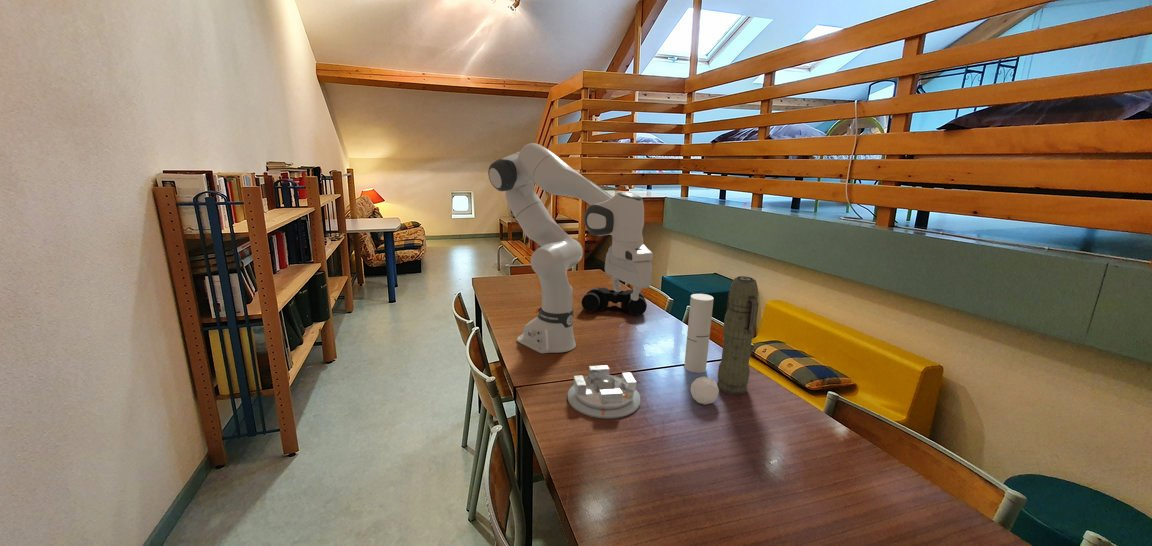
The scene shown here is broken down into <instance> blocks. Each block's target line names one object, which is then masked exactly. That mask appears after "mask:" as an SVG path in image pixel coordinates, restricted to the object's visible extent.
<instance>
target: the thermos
mask: <svg viewBox="0 0 1152 546" xmlns="http://www.w3.org/2000/svg"><path fill="white" fill-rule="evenodd" d="M732 280H733V281H732V282H731V285H730V288H729V291H728V292H727V301H726V313H725V315H724V320H723V331H722V333H723V345H722V353H721V360H720V362H719V365H718V369H717V370H718V371H717V382H716V383H717V386H718V389H719V391H720V390H721V391H722V392H724V393H727V394H730V393H731V395H742V394H746V392H747V388H748V384H749V380H750V372H751V371H750V367H749V363H750V356H751V351H752V349H751V348H752V341H753V339H754V337H755V332H756V324H757V318H758V310H759V302H758V293H759V292H758V291H759V288H758V284H757V280H756V279H754V278H753V277H750V276H746V275H745V276H744V275H742V276H737V277H734V279H732Z"/></svg>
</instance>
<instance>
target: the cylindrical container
mask: <svg viewBox="0 0 1152 546" xmlns="http://www.w3.org/2000/svg"><path fill="white" fill-rule="evenodd" d="M689 302H690V303H689V310H688V311H689V313H688V323H687V332H686V334H687V335H686V342H685V343H686V346H685V355H684V367H683V368H684V369H685V370H687V371H689V372H691V373H697V374H698V373H699V374H701V373H704V372H705V371H706V370H707V363H708V353H709V347H710V346H709V345H710V344H709V343H710V336H711V326H712V318H713V310H714V309H713V308H714V307H713V306H714V297H713V296H712V295H710V294H705V293H693V294H691V295H690V301H689Z"/></svg>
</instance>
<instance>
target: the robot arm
mask: <svg viewBox="0 0 1152 546" xmlns="http://www.w3.org/2000/svg"><path fill="white" fill-rule="evenodd" d="M487 173H488V174H487V175H488V179H489V181H490V183H491V185H492V186H493V188H494V189H495V190H497V191H499V192H505V194H504V195H505V196H504V197H505V199H506V200H505V201H506V202H507V205H508V206H509V209H510V212H511V213H512V215H513V217H514V218H515V220H516V221H517V223H518V225H519V226H520V228H521V229H522V231H523V233H524V235H525V236H526V237H527V238H529V239H530V240H532V241H533V242H535V243H536V244H537V245H539V247H538V248H537V249H535V250H534V252H532V254H531V257H530V267H531V269H532V270H533V271H534V273H535V274H537V276H538V279H539V282H540V286H541V306H540V307H539V308H537V309H536V310H535V313H538V315H537V316H536V317H535V318H533V319H531V320H530V321H529V322H528V323H526V324H525V325H524V327H523V331H522V332H523V333H522V334H520V335H519V336H517V338H516V342H518V344H522V345H523V346H525V347H527V348H529V349H531V350H533V351H535V352H537V353H539V354H548V353H549V354H550V353H555V354H556V353H558V354H559V353H566V352H569V351H571V350H573V349H575V348H576V346H577V343H576V341H575V334H574V326H573V323H574V308H573V297H574V295H573V294H574V293H573V292H574V291H573V287H572V285H571V284H570V283H569V279H568V275H567V274H568V273H567V272H568V270H569V269H572V268H574V267H575V266H576V265H577V264H578V263H579V262H580V261H581V260H582V258H583V255H584V249H583V247H582V244H581V242H579V241H578V240H576V239H574V238H572V237H571V236H570V235H569V234H568V233H567V232H566V231H565V230H563V228H562V227H561V226H560V225H559V224H558V223H557V222H556V221H555V220H554V218H553V217H552V216H551V214H550V212H549V210H548V209H547V208H546V205H544V203H543V201H542V199H541V198H540V197H539V196H538V194H537V192H536V189H535V185H536V186H538V187H539V188H540V189H541V190H542V191H545V192H546V193H547V194H550V195H554V196H563V197H571V198H576V199H580V200H582V201H584V202H585V203H586V204H588V205H589V206H588V208H586V210H585V212H584V215H583V223H584V226H585V229H586V230H587V232H588V233H589V234H591V235H593V236H597V237H603V236H608V235H611V238H612V241H611V242H612V244H611V245H610V246H609V248H608V251H607V252H606V255H605V261H604V272H605V274H606V275H608V276H610V277H611V282H612V284H613V290H614V291H616V292H620V291H622V286H621V284H620V281H621V282H624V283H626V284H628V285H630V286H632V290H634V291H633V293H632V294H631V299H632V300H634V301H636V300H638V299H639V293H640V292H641V291H642V289H647V288H648V289H649V288H650V286H651V284H652V279H653V264H652V262H651V261H652V260H654V253H653V252H652V251H651V250H650V249H649V248H648V247H647V246H646V245H645V244H644V236H643V229H644V226H645V205H644V200H643V198H642V197H641V196H640V195H638V194H636V193H633V192H626V191H621V192H617V193H616V194H614V196H612V195H611V194H610V193H608V192H607V191H606V190H604V189H603V188H601V187H600V186H598V185H597V184H596V183H594V182H592V181H591V180H590V179H588V178H587V177H585V176H583V175H582V174H581V173H580V172H578V171H577V170H576V169H574V168H573V167H571V166H570V165H569V164H567V163H566V162H565V161H563V160H562V159H561V158H560V157H559V156H557V154H555V153H554V152H552V151H551V150H549V149H548V148H546V147H545V146H543V145H541V144H539V143H536V142H531V143H527V144H525V145H524V146H523V147H522V148H521V149H520V151H517V152H514V153H511V154H509V155H507V156H505V157H503V158H500V159H497V160H495V161H493V162H492V163H491V164H490V165H489V167H488V172H487Z"/></svg>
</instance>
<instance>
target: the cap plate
mask: <svg viewBox="0 0 1152 546" xmlns="http://www.w3.org/2000/svg"><path fill="white" fill-rule="evenodd" d="M567 400H568V401H567V402H568V404H569V405H570V407H572V409H574V410H575V411H577V413H580V414H582V415H585V416H588V417H592V418H595V419H602V420H603V419H605V420H607V419H608V420H609V419H612V420H613V419H619V418H624V417H627V416H629V415H631V414H633V413H635V411H637V410H638V409H639V407H640V405H641V395H640V393H639V391H638V390H637V389H636V391H634V396H633V401H632V402H631V403H630V404H629V405H628V406H626V407H624V408H621V409H617V410H598V409H593V408H590V407H587V406H585V405H583V404H581V403H580V402H579V401H578V400H577V399H576V397H575V388H574V384H573V385H572V386H571V387H570V388H569V390H568V391H567Z"/></svg>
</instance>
